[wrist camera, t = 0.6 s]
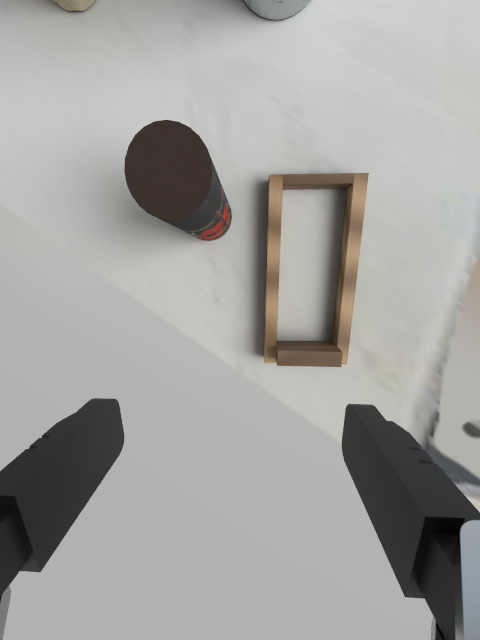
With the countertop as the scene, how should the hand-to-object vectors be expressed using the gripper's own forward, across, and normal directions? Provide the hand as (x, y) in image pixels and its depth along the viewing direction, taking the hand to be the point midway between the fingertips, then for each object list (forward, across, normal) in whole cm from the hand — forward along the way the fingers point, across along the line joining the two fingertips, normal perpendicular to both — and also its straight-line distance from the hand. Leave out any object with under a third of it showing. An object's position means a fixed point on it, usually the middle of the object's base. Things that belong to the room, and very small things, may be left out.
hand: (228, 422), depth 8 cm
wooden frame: (+25, -8, -3) cm, 27 cm away
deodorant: (+26, +5, -11) cm, 28 cm away
